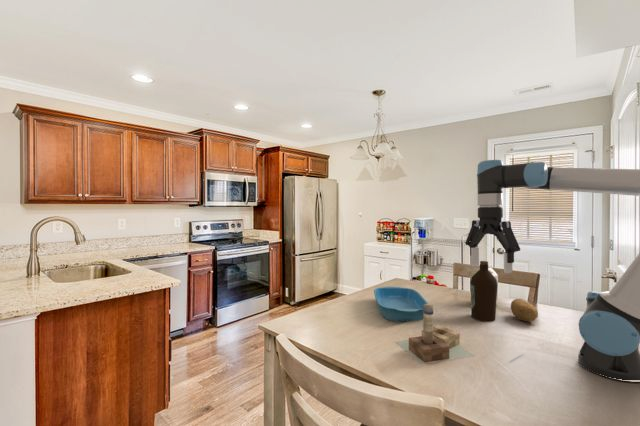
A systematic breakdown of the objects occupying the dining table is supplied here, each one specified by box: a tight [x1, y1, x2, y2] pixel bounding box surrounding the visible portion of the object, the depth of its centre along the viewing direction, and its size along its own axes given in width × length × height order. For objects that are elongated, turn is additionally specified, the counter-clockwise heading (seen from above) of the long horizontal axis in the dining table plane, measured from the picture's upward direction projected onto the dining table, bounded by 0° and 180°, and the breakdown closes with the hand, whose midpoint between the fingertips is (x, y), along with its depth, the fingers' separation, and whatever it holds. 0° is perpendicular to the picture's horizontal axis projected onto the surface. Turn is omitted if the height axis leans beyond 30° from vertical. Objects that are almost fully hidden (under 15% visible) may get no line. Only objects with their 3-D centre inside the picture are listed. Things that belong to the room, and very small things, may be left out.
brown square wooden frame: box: [408, 335, 449, 363], centre depth 102 cm, size 9×9×4 cm
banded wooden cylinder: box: [422, 303, 434, 345], centre depth 102 cm, size 3×3×16 cm
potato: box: [510, 298, 539, 323], centre depth 135 cm, size 10×14×8 cm
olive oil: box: [469, 260, 499, 322], centre depth 138 cm, size 11×11×25 cm
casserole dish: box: [373, 286, 429, 323], centre depth 147 cm, size 37×22×7 cm, turn 177°
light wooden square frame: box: [421, 324, 461, 349], centre depth 110 cm, size 9×9×4 cm
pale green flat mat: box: [395, 339, 476, 365], centre depth 106 cm, size 16×20×1 cm
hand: (490, 269), depth 106 cm, fingers open, 13 cm apart
